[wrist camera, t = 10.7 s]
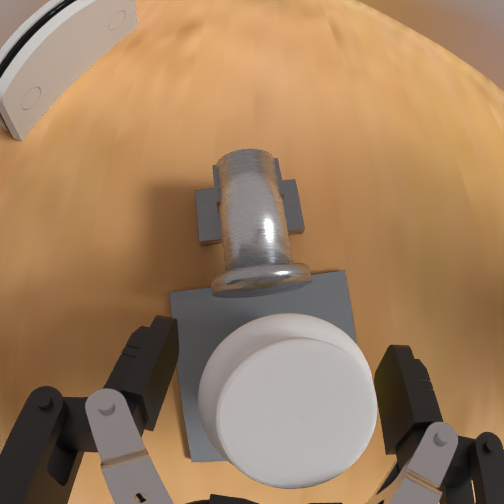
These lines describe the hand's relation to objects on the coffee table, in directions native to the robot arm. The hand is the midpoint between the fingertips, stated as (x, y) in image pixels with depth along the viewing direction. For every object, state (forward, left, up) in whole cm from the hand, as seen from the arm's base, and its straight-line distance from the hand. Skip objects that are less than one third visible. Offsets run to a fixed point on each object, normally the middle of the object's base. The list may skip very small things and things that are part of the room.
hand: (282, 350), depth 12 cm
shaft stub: (0, -7, -6) cm, 9 cm away
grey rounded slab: (+15, -25, -6) cm, 30 cm away
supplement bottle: (0, +1, -6) cm, 6 cm away
